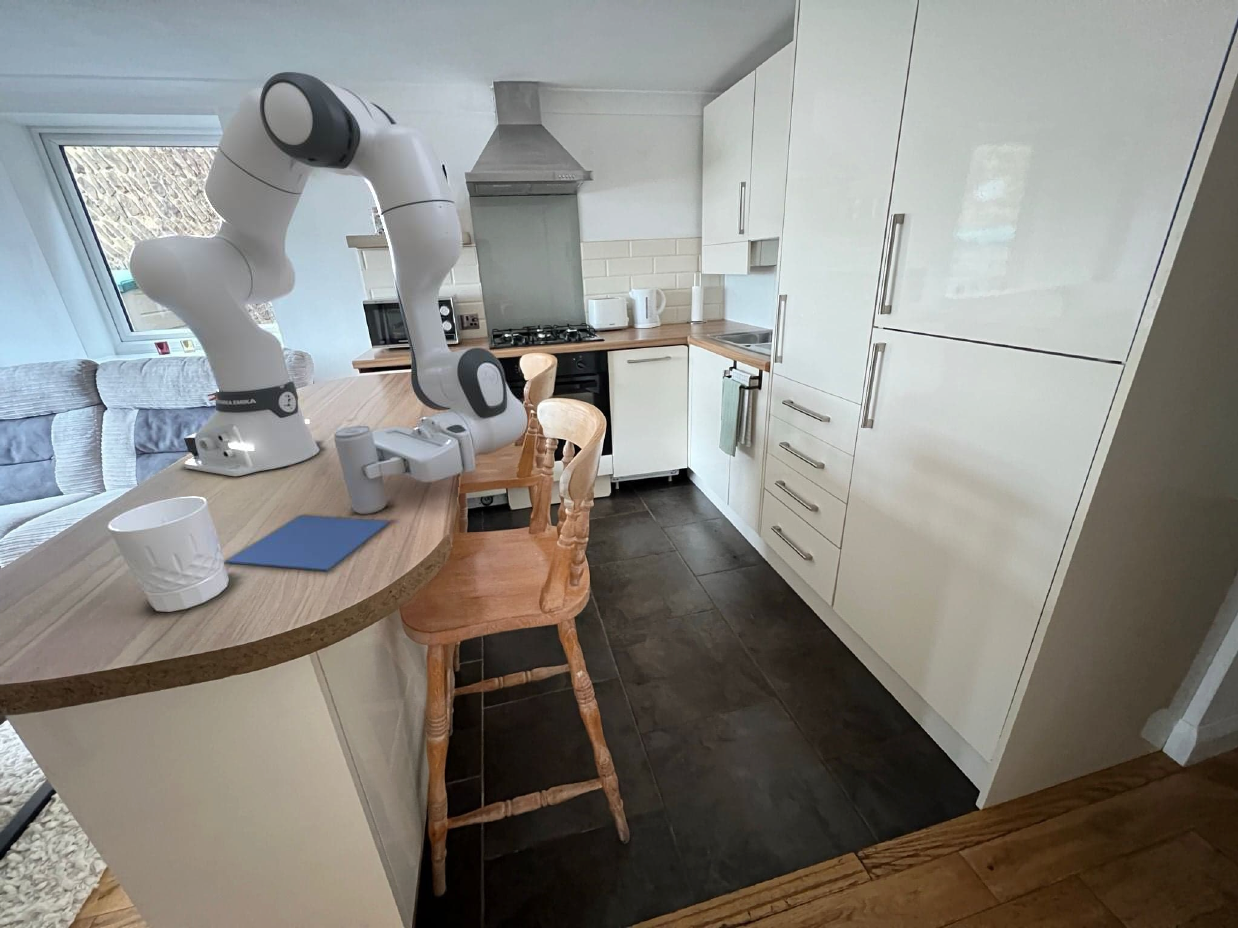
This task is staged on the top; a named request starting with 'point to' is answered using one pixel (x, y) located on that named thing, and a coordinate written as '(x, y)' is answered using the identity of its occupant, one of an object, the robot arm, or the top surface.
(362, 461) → the beverage can
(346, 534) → the blue cloth
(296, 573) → the top surface
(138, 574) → the white cup
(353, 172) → the robot arm
